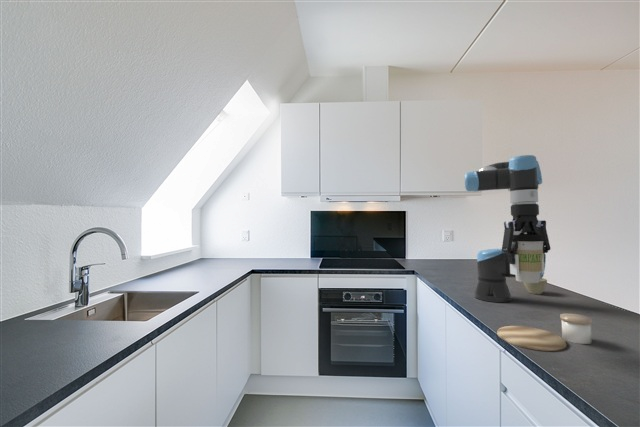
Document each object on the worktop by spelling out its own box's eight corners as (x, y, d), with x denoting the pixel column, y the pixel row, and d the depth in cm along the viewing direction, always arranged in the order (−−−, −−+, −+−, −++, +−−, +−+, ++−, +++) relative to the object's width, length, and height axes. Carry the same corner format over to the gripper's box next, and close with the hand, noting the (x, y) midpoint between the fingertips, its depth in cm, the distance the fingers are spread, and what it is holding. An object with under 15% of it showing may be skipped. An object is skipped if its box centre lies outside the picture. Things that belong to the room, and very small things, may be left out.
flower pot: (527, 295, 145) (526, 280, 145) (520, 290, 154) (519, 276, 154) (551, 296, 141) (550, 281, 142) (543, 291, 151) (542, 277, 151)
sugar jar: (554, 336, 96) (553, 314, 96) (574, 333, 98) (573, 312, 98) (579, 345, 89) (577, 322, 89) (599, 343, 90) (598, 320, 90)
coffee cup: (503, 280, 98) (501, 234, 98) (520, 276, 102) (518, 233, 102) (536, 285, 89) (533, 235, 89) (553, 281, 93) (551, 234, 94)
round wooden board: (484, 330, 102) (484, 328, 102) (529, 325, 105) (529, 323, 105) (530, 354, 84) (530, 351, 84) (582, 347, 88) (582, 344, 88)
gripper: (504, 203, 90) (507, 277, 90) (563, 202, 94) (566, 273, 94) (486, 204, 98) (489, 273, 97) (541, 203, 102) (544, 269, 101)
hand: (527, 273), depth 95 cm, fingers closed on coffee cup, 9 cm apart
